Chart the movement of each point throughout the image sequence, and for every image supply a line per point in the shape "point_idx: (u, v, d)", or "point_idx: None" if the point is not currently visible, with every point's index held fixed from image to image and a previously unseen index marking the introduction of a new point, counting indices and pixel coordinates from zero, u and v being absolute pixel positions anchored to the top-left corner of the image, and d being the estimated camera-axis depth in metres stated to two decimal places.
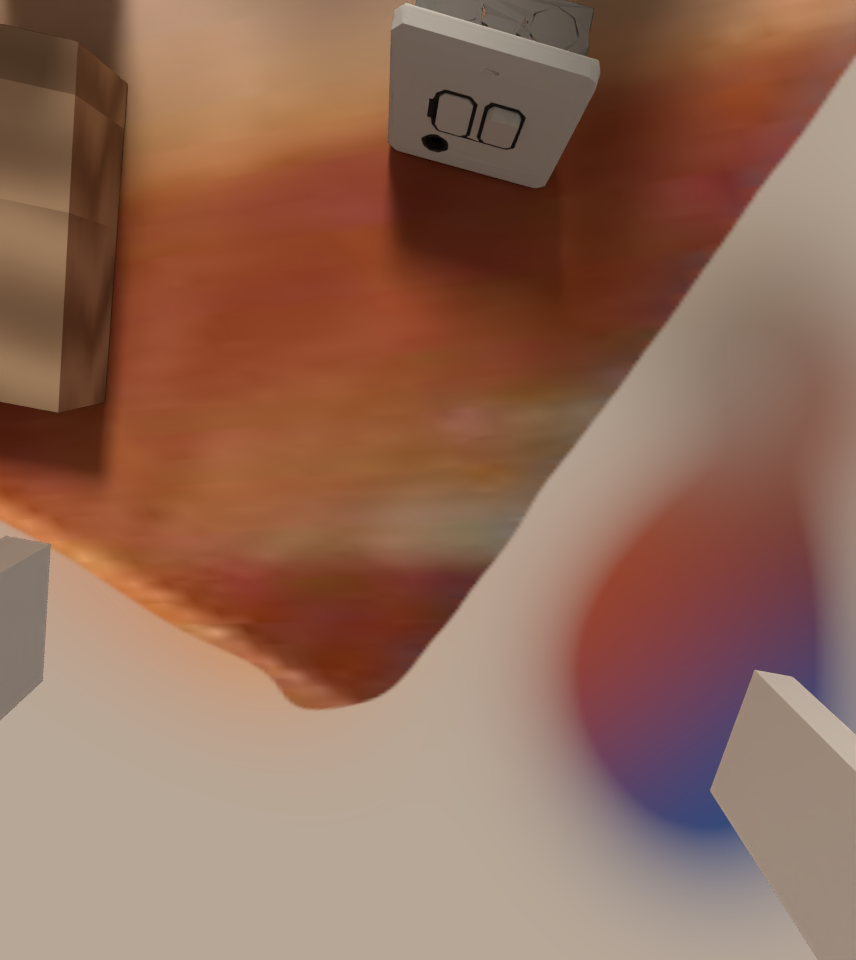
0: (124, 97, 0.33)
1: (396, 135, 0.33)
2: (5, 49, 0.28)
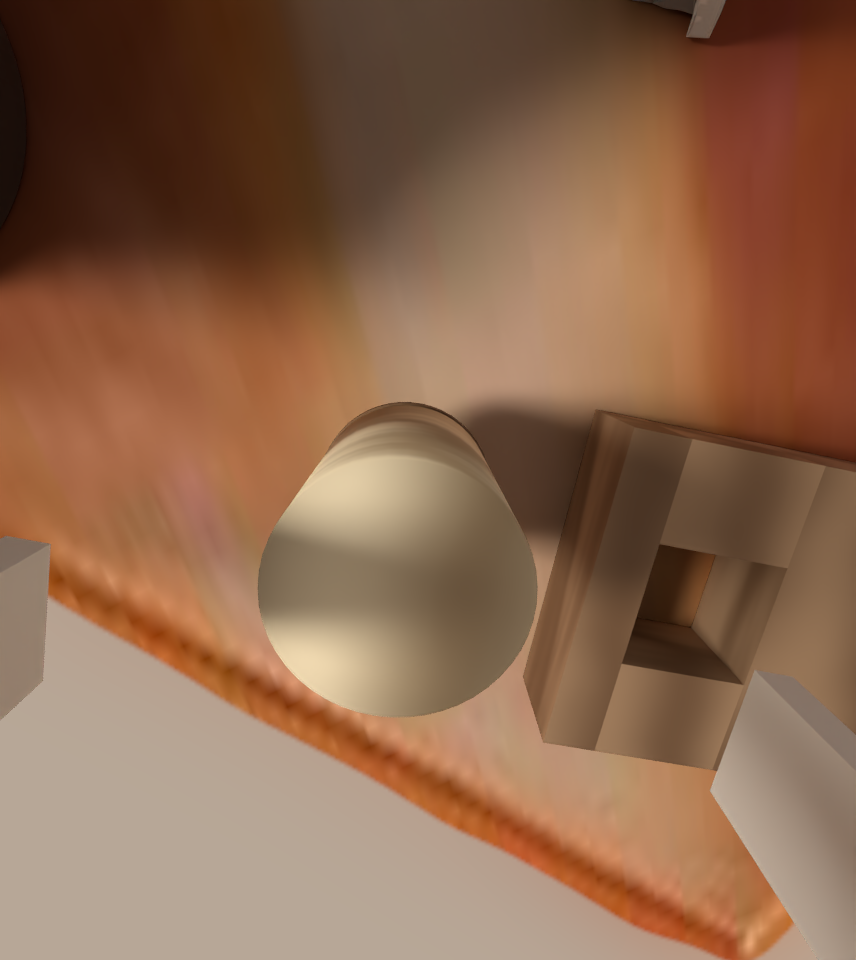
0: (612, 413, 0.27)
1: None
2: (635, 515, 0.23)
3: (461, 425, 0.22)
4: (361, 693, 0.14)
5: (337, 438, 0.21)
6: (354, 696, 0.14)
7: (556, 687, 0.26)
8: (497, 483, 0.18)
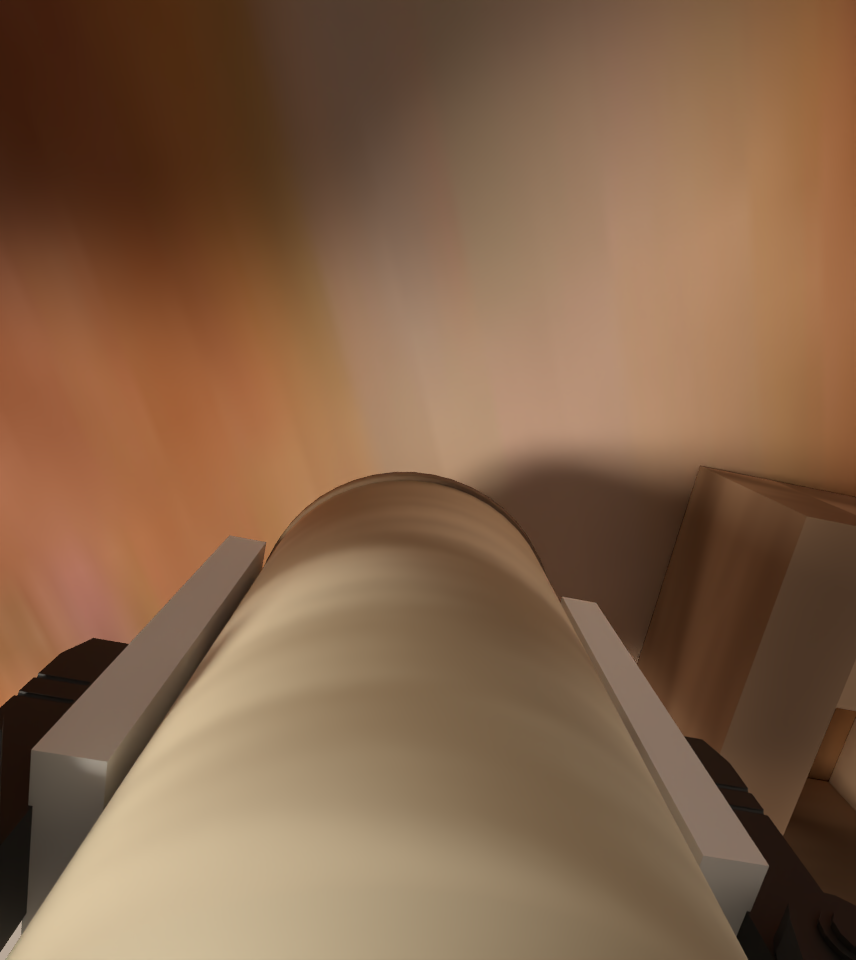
0: (727, 472, 0.18)
1: None
2: (798, 661, 0.14)
3: (504, 514, 0.13)
4: None
5: (278, 547, 0.11)
6: None
7: None
8: None
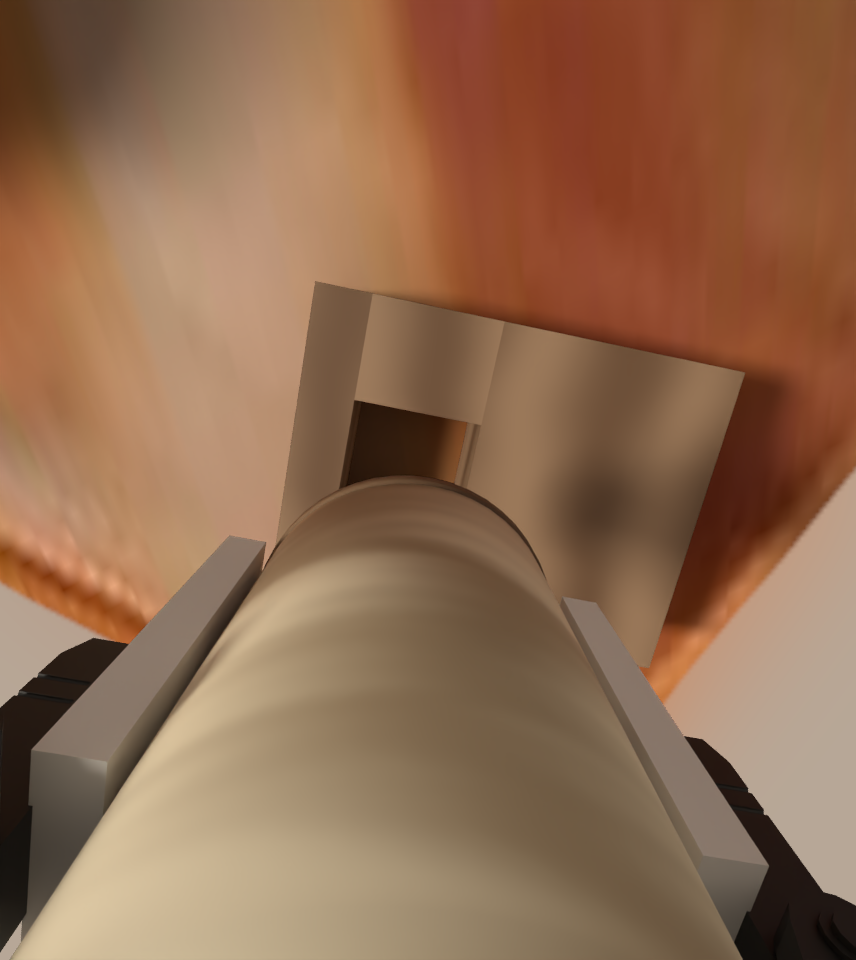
0: None
1: None
2: (327, 370, 0.25)
3: (504, 518, 0.12)
4: None
5: (277, 551, 0.11)
6: None
7: None
8: None
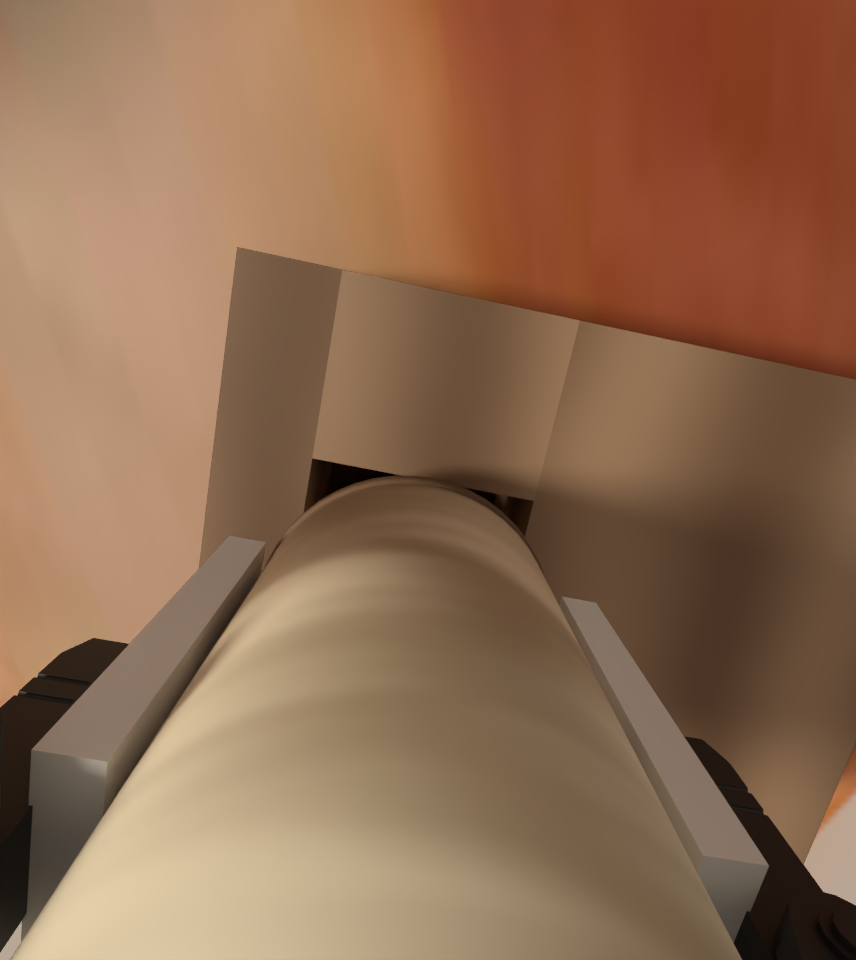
0: None
1: None
2: (263, 407, 0.14)
3: (503, 518, 0.13)
4: None
5: (278, 551, 0.11)
6: None
7: None
8: (604, 694, 0.08)
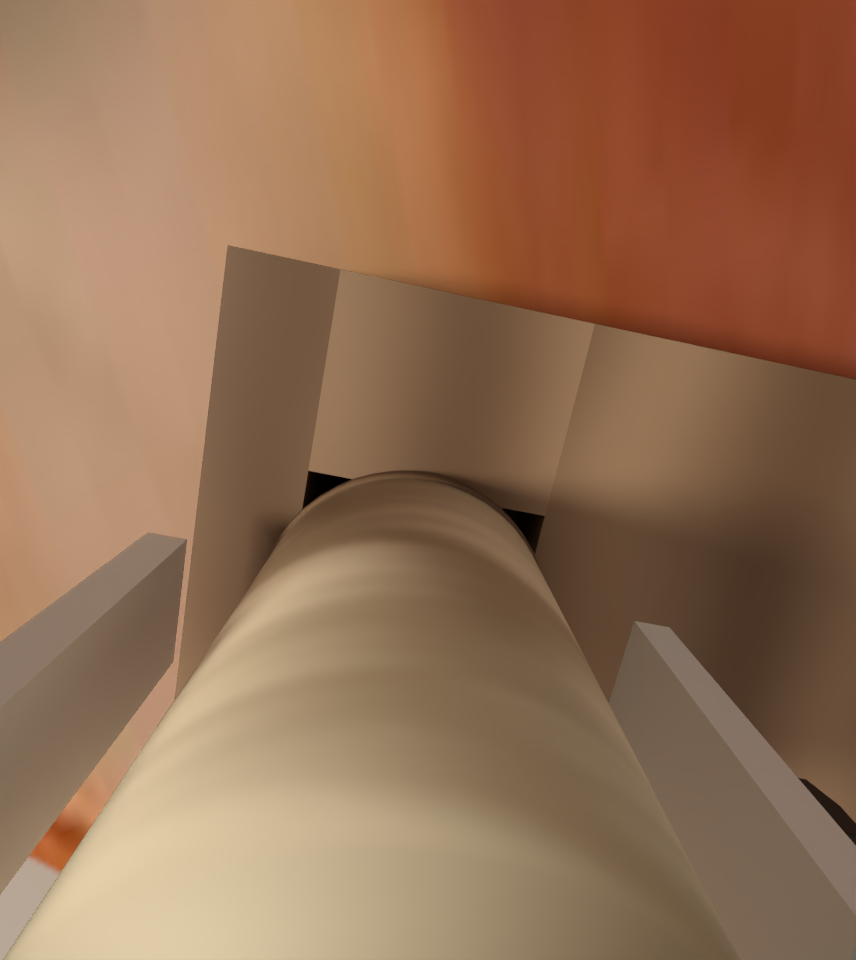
0: None
1: None
2: (256, 416, 0.13)
3: (500, 512, 0.13)
4: None
5: (280, 544, 0.12)
6: None
7: None
8: (595, 678, 0.08)
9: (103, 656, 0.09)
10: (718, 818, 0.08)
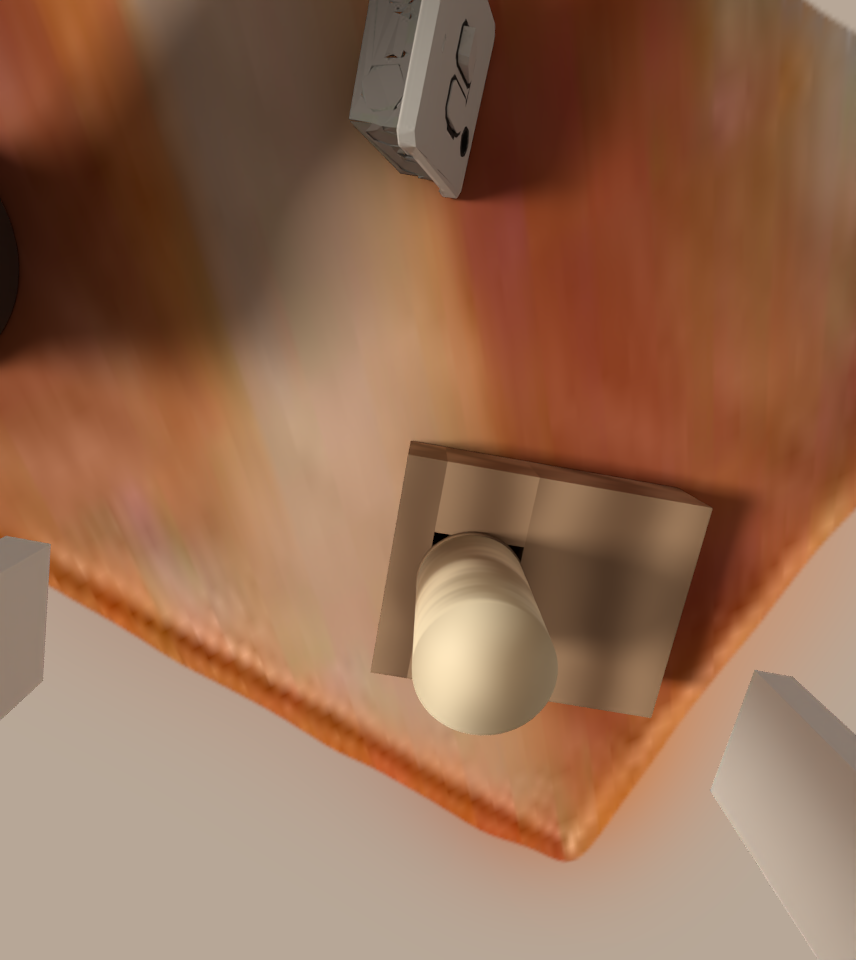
0: (422, 443, 0.39)
1: (456, 184, 0.34)
2: (415, 512, 0.35)
3: (506, 546, 0.35)
4: (464, 722, 0.27)
5: (430, 559, 0.34)
6: (461, 724, 0.27)
7: (377, 632, 0.37)
8: (532, 596, 0.30)
9: None
10: None
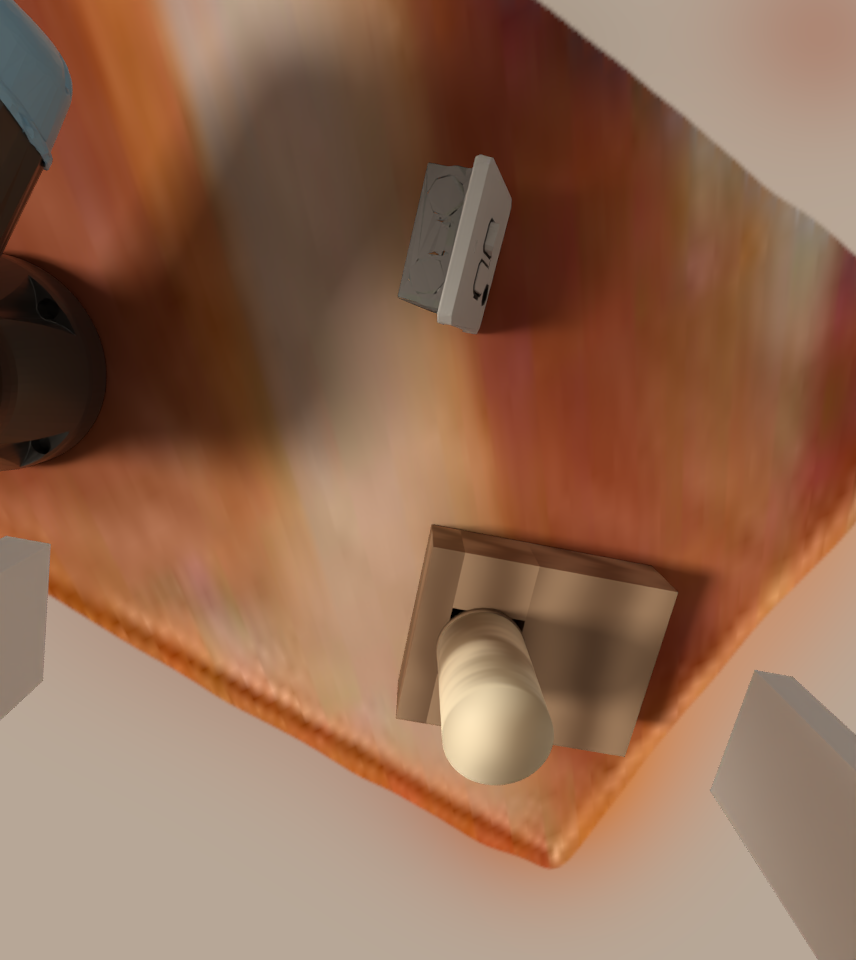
0: (441, 527, 0.47)
1: (477, 326, 0.42)
2: (437, 592, 0.43)
3: (511, 621, 0.43)
4: (481, 775, 0.35)
5: (450, 633, 0.42)
6: (478, 777, 0.35)
7: (402, 686, 0.45)
8: (533, 670, 0.38)
9: None
10: None
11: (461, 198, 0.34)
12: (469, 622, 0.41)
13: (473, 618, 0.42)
